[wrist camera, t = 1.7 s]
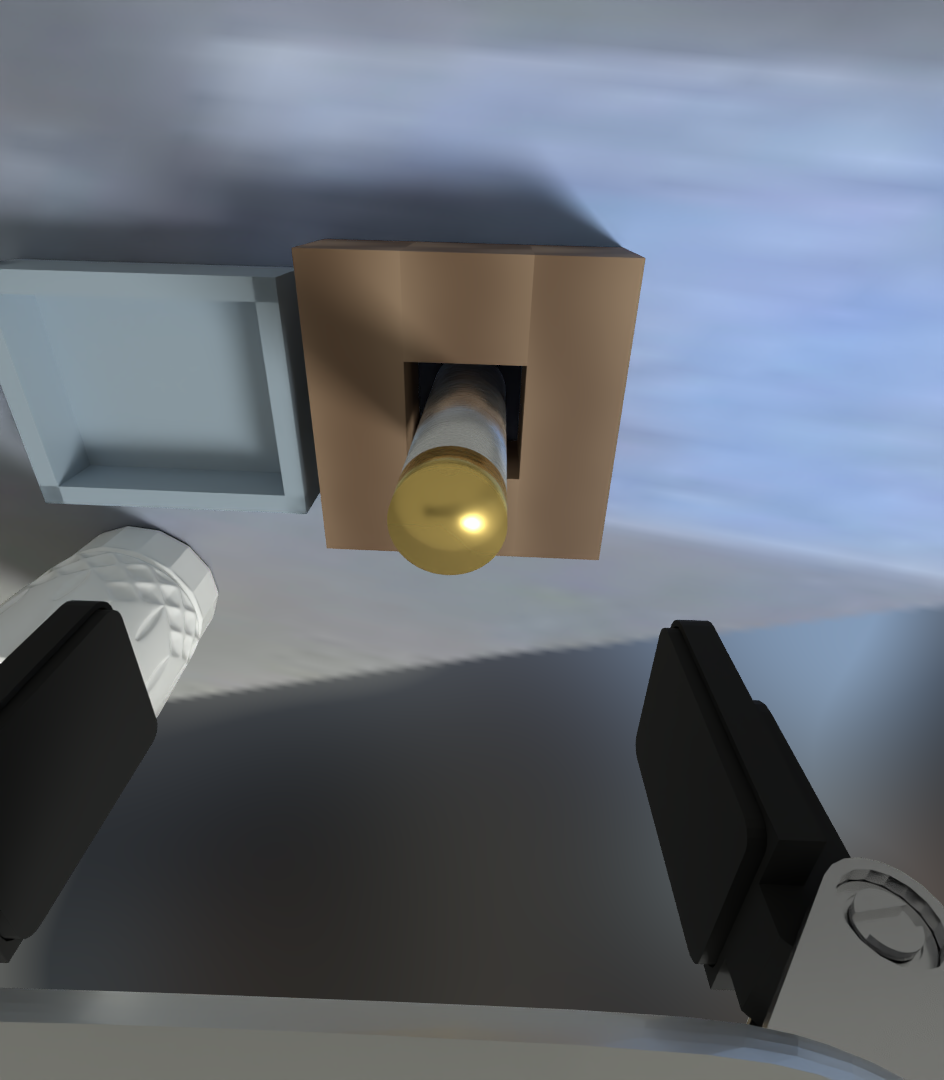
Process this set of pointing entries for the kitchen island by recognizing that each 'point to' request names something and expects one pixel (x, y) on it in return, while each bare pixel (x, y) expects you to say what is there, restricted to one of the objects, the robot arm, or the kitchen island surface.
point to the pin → (455, 475)
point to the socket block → (468, 338)
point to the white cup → (127, 600)
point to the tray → (159, 384)
